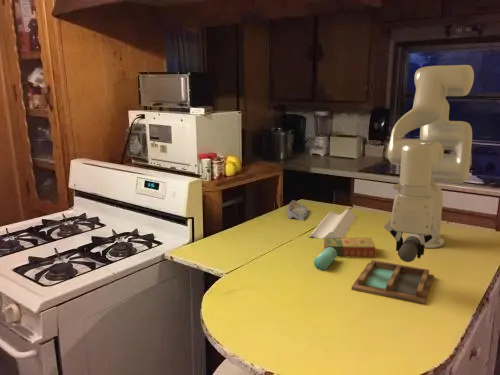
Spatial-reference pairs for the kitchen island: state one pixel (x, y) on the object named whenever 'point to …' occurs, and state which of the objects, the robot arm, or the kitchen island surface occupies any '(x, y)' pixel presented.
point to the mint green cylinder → (325, 258)
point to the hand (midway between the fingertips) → (409, 254)
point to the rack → (395, 281)
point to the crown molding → (334, 225)
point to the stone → (297, 211)
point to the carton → (351, 246)
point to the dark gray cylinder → (409, 249)
